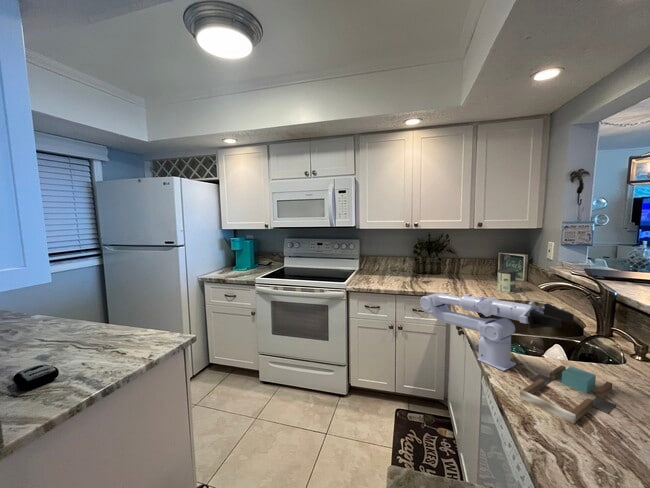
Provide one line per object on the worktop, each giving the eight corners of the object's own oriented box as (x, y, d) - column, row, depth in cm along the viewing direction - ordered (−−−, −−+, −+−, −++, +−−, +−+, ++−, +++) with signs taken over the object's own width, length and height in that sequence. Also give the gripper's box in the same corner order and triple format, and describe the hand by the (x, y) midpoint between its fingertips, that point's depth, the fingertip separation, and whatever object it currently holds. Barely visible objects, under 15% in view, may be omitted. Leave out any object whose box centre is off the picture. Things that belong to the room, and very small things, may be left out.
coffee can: (511, 289, 192) (511, 269, 191) (518, 293, 182) (518, 272, 181) (494, 289, 194) (495, 269, 193) (500, 293, 184) (501, 272, 183)
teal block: (561, 383, 87) (562, 371, 87) (570, 377, 90) (570, 366, 90) (586, 394, 82) (587, 381, 82) (595, 387, 85) (595, 374, 85)
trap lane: (509, 392, 84) (509, 385, 84) (550, 366, 97) (550, 361, 96) (589, 431, 68) (589, 424, 68) (626, 395, 81) (626, 388, 80)
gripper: (503, 303, 90) (554, 312, 78) (527, 295, 97) (577, 302, 85) (504, 325, 90) (556, 337, 78) (528, 315, 97) (578, 325, 85)
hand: (567, 320), depth 82 cm, fingers open, 7 cm apart
